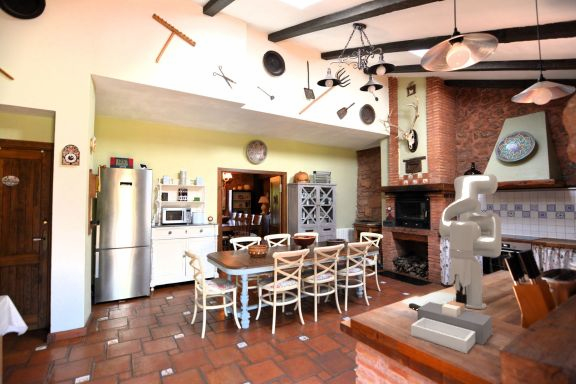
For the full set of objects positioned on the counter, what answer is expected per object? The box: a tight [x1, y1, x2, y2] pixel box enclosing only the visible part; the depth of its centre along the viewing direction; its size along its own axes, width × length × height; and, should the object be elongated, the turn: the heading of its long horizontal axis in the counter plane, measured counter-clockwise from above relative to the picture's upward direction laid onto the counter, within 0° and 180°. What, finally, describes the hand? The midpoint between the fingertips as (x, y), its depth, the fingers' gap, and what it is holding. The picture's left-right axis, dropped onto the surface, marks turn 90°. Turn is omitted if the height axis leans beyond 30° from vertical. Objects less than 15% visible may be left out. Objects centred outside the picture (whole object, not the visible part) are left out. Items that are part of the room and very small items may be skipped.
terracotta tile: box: [446, 300, 466, 313], centre depth 105 cm, size 4×4×2 cm
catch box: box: [410, 318, 477, 354], centre depth 95 cm, size 10×16×4 cm, turn 45°
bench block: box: [417, 301, 493, 346], centre depth 103 cm, size 12×20×6 cm, turn 45°
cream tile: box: [442, 303, 461, 317], centre depth 101 cm, size 4×4×2 cm
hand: (461, 304), depth 110 cm, fingers closed
